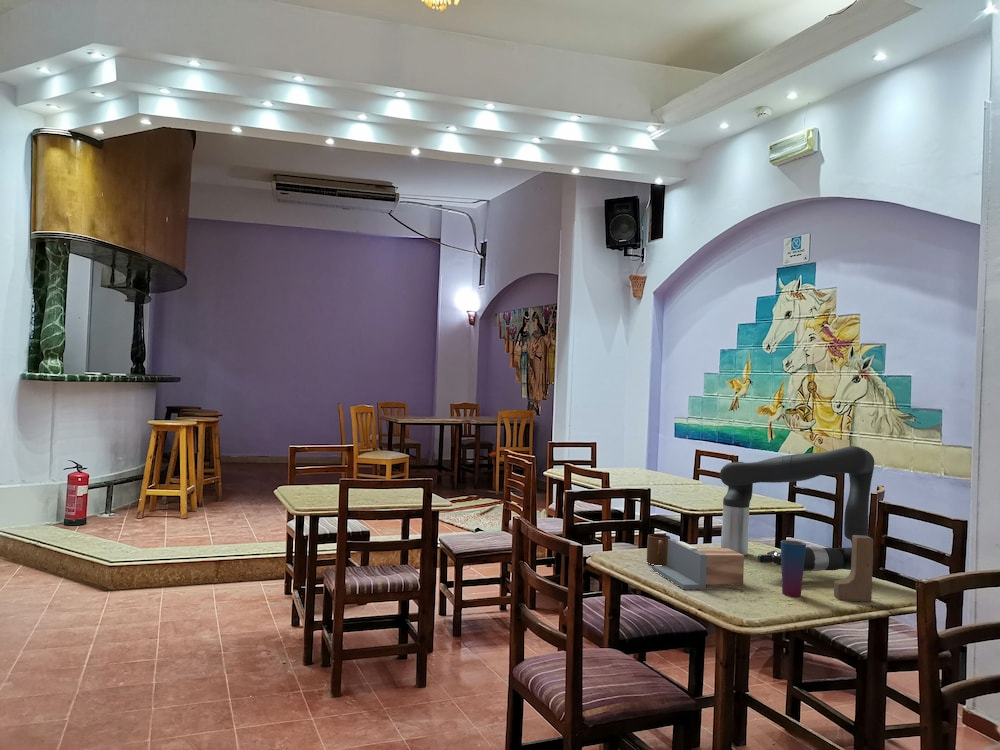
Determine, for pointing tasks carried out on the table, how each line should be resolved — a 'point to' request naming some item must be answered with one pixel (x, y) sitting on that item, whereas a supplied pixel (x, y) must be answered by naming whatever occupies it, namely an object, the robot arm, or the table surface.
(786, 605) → the table surface
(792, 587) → the cup
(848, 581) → the wooden block
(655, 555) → the mug
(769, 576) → the table surface
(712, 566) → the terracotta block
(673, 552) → the rail
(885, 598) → the table surface
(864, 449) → the robot arm
